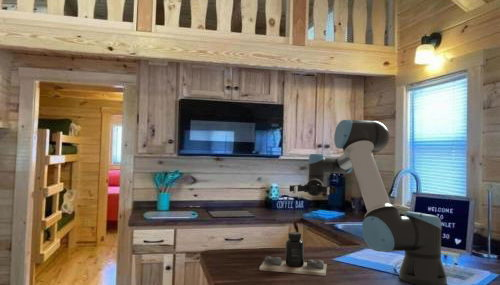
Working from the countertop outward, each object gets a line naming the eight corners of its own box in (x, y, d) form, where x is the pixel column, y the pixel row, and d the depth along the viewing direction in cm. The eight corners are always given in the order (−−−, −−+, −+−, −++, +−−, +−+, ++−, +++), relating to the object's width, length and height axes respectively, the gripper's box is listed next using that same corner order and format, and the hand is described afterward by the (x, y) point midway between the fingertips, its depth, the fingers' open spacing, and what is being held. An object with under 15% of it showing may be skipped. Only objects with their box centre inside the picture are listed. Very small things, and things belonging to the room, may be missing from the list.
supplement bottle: (306, 264, 149) (307, 232, 150) (298, 268, 144) (299, 235, 144) (290, 261, 153) (290, 230, 153) (282, 265, 147) (282, 233, 148)
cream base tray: (326, 266, 151) (326, 257, 151) (325, 275, 140) (325, 266, 140) (265, 261, 157) (265, 253, 157) (259, 269, 145) (259, 260, 145)
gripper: (342, 196, 181) (342, 201, 160) (288, 194, 187) (281, 198, 166) (342, 180, 181) (342, 182, 161) (288, 178, 187) (281, 180, 166)
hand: (311, 190), depth 163 cm, fingers open, 13 cm apart
